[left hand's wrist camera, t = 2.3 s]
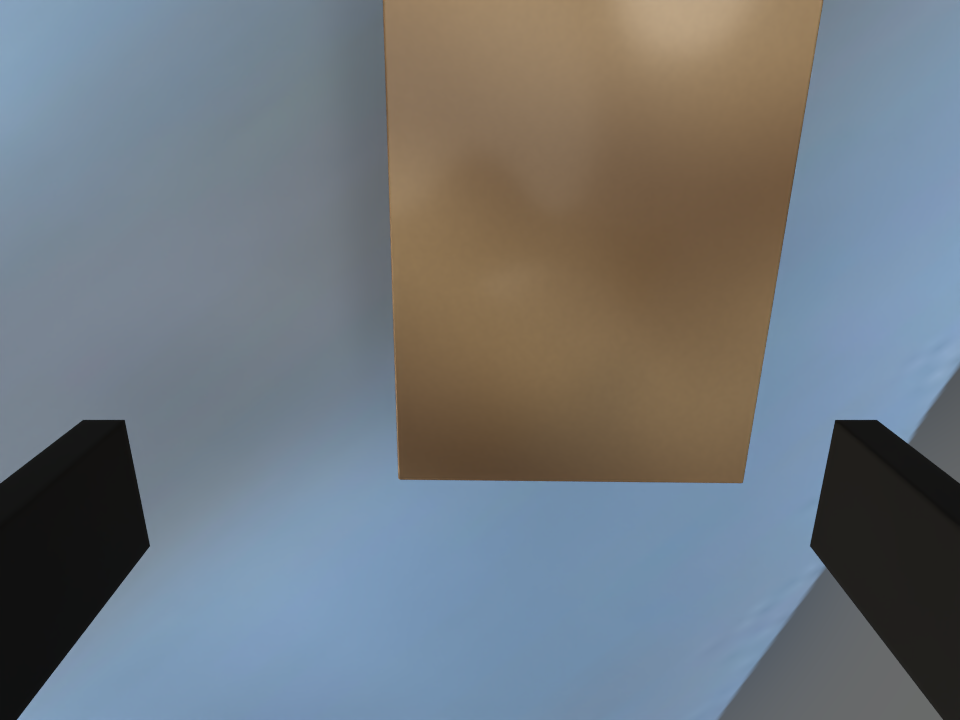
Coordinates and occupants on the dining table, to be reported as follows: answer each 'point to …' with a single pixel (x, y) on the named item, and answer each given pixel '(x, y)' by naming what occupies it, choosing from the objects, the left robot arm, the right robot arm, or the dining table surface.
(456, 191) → the wooden drawer box
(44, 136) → the dining table surface
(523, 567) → the dining table surface
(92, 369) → the dining table surface
